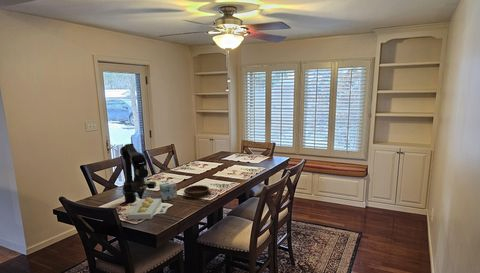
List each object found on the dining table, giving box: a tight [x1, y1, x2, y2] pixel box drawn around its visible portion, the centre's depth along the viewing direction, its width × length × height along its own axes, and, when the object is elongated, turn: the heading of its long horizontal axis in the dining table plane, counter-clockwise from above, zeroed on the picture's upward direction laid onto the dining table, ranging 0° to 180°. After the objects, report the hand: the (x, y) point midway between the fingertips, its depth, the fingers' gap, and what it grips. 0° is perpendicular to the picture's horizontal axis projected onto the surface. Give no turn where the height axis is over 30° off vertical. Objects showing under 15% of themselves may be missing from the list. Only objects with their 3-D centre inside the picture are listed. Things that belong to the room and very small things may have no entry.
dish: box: [183, 184, 212, 199], centre depth 217 cm, size 18×22×5 cm
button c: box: [144, 196, 153, 203], centre depth 198 cm, size 4×4×4 cm
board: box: [127, 198, 162, 221], centre depth 191 cm, size 14×26×3 cm, turn 1°
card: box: [156, 205, 169, 215], centre depth 191 cm, size 5×12×1 cm, turn 1°
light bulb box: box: [159, 180, 178, 201], centre depth 213 cm, size 11×7×11 cm, turn 126°
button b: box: [142, 201, 149, 208], centre depth 191 cm, size 4×4×4 cm
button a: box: [139, 207, 146, 212], centre depth 184 cm, size 4×4×4 cm
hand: (141, 198), depth 183 cm, fingers closed
